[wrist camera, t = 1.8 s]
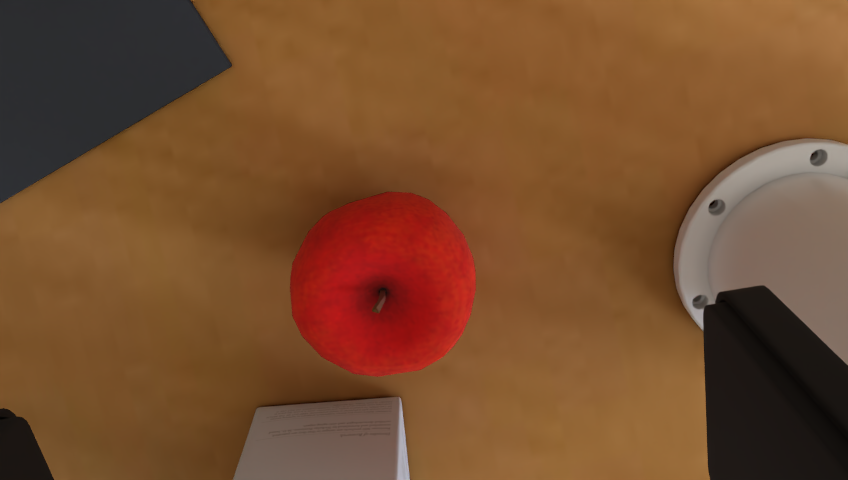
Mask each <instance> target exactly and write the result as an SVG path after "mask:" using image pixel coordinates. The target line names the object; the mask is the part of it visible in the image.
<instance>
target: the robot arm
mask: <svg viewBox="0 0 848 480" xmlns="http://www.w3.org/2000/svg"><path fill="white" fill-rule="evenodd" d="M813 152H814V154H813V156H811V155H812V153H813ZM714 200H715V202H714V204H713V205H712V206H709V205H710V203H711V202H712V201H714ZM673 270H674V276H675V282H676V288H677V291H678V293H679V296H680V298H681V301H682V303H683V305H684V307H685V308H686V310H687V311H688V313H689V314H690V316H691V317H692V319H693V320H694V321H695V322H696V324H697V325H698V326H699V327H700V328H701V329H702V330H703V332H704V360H705V390H706V419H707V449H708V470H709V476H710V480H848V144H844V143H841V142H837V141H833V140H828V139H812V138H805V139H797V140H789V141H783V142H779V143H776V144H773V145H769V146H766V147H763V148H760V149H758V150H756V151H754V152H752V153H750V154H748V155H746V156H744V157H742V158H740V159H738V160H737V161H736V162H734V163H733V164H731V165H730V166H729V167H727V168H726V169H724V170H723V171H722V172H720V173H719V174H718V175H717V176H716V177H715V178H714V179H713V180H712V181H711V182H710V183H709V184H708V185H707V186H706V187H705V188H704V189H703V190H702V191H701V193H700V194H699V196H698V197H697V198H696V200H695V201H694V203H693V204H692V206H691V207H690V208H689V210H688V212H687V214H686V217H685V219H684V221H683V223H682V225H681V227H680V230H679V233H678V237H677V241H676V245H675V249H674V266H673ZM696 296H697V297H696ZM695 297H696V298H695ZM0 480H54V479H53V477H52V474H51V472H50V470H49V468H48V465H47V463H46V461H45V459H44V457H43V454H42V452H41V450H40V448H39V445H38V443H37V441H36V439H35V437H34V434H33V432H32V430H31V428H30V426H29V424H28V422H27V421H26V420H25V419H24V418H22V417H16V416H15V414H14V413H13V412H11V411H10V410H8V409H4V408H3V409H0Z"/></svg>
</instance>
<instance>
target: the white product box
mask: <svg viewBox="0 0 848 480" xmlns="http://www.w3.org/2000/svg"><path fill="white" fill-rule="evenodd" d="M233 480H410V477H409V467H408V457H407V448H406V439H405V429H404V420H403V411H402V403H401V398H400V397H389V398H376V399H363V400H350V401H336V402H323V403H308V404H296V405H283V406H270V407H259V408H257V409H256V412H255V415H254V418H253V421H252V424H251V427H250V430H249V433H248V436H247V439H246V442H245V445H244V448H243V451H242V454H241V457H240V460H239V463H238V466H237V469H236V472H235V475H234V478H233Z"/></svg>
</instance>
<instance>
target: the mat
mask: <svg viewBox="0 0 848 480" xmlns="http://www.w3.org/2000/svg"><path fill="white" fill-rule="evenodd" d="M231 66H232V65H231V63H230V62H229V60H228V58H227V57H226V55H225V54H224V52H223V51H222V49H221V47H220V46H219V44H218V43H217V41H216V40H215V38H214V37H213V35H212V33H211V32H210V30H209V29H208V27H207V26H206V24H205V22H204V21H203V19H202V18H201V16H200V15H199V13H198V12H197V10H196V8H195V7H194V5H193V4H192V2H191V1H190V0H0V203H1V202H3V201H4V200H6V199H8V198H10V197H11V196H13V195H15V194H16V193H18V192H20V191H21V190H23V189H25V188H26V187H28V186H30V185H32V184H33V183H35V182H37V181H38V180H40V179H42V178H43V177H45V176H47V175H48V174H50V173H52V172H54V171H55V170H57V169H59V168H60V167H62V166H64V165H65V164H67V163H69V162H70V161H72V160H74V159H76V158H77V157H79V156H81V155H82V154H84V153H86V152H87V151H89V150H91V149H92V148H94V147H96V146H98V145H99V144H101V143H103V142H104V141H106V140H108V139H109V138H111V137H113V136H114V135H116V134H118V133H120V132H121V131H123V130H125V129H126V128H128V127H130V126H131V125H133V124H135V123H136V122H138V121H140V120H142V119H143V118H145V117H147V116H148V115H150V114H152V113H153V112H155V111H157V110H158V109H160V108H162V107H164V106H165V105H167V104H169V103H170V102H172V101H174V100H175V99H177V98H179V97H180V96H182V95H184V94H186V93H187V92H189V91H191V90H192V89H194V88H196V87H197V86H199V85H201V84H202V83H204V82H206V81H208V80H209V79H211V78H213V77H214V76H216V75H218V74H219V73H221V72H223V71H224V70H226V69H228V68H230V67H231Z"/></svg>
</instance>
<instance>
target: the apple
mask: <svg viewBox="0 0 848 480" xmlns="http://www.w3.org/2000/svg"><path fill="white" fill-rule="evenodd" d="M475 290H476V278H475V266H474V261H473V256H472V254H471V251H470V249H469V247H468V244H467V242H466V239H465V237H464V235H463V234H462V232H461V231H460V230H459V229H458V227H457V226H456V225H455V224H454V222H453V221H452V220H451V219H450V217H449V216H448V215H447V214H446V213H445V212H444V211H443V210H441V209H440V208H439V207H438V206H436V205H435V204H434V203H432V202H431V201H430V200H428V199H426V198H423V197H421V196H418V195H415V194H413V193H402V192H385V193H382V194H379V195H375V196H372V197H368V198H365V199H361V200H358V201H355V202H351V203H348V204H346V205H344V206H342V207H340V208H338V209H335V210H333V211H331V212H329V213H327V214H326V215H325V216H323V217H322V218H321V219H320V220H319V221H318V222H317V223H316V224H315V225H314V226H313V227H312V229H311V230H310V231H309V232H308V234H307V236H306V238H305V240H304V242H303V244H302V246H301V247H300V249H299V251H298V253H297V255H296V257H295V259H294V261H293V264H292V271H291V279H290V293H291V304H292V316H293V318H294V320H295V322H296V324H297V326H298V329H299V331H300V333H301V335H302V337H303V338H304V339H305V340H306V341H307V342H308V343H309V344H310V345H311V346H312V347H313V348H314V349H315V350H316V351H317V352H318V353H319V354H320V356H321V357H323V358H324V359H326V360H328V361H330V362H332V363H334V364H336V365H338V366H340V367H342V368H344V369H346V370H348V371H349V372H351V373H353V374H359V375H368V376H377V377H378V376H385V375H391V374H398V373H404V372H411V371H417V370H421V369H423V368H425V367H426V366H428V365H430V364H432V363H433V362H435V361H437V360H439V359H441V358H442V357H443V356H444V355H445V354H446V353H447V352H448V351H449V350H450V349H451V348H452V347H453V346H454V345H455V344H456V342H457V341H458V339H459V338H460V336H461V335H462V333H463V331H464V329H465V326H466V324H467V322H468V319H469V317H470V315H471V310H472V305H473V300H474V295H475Z"/></svg>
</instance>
